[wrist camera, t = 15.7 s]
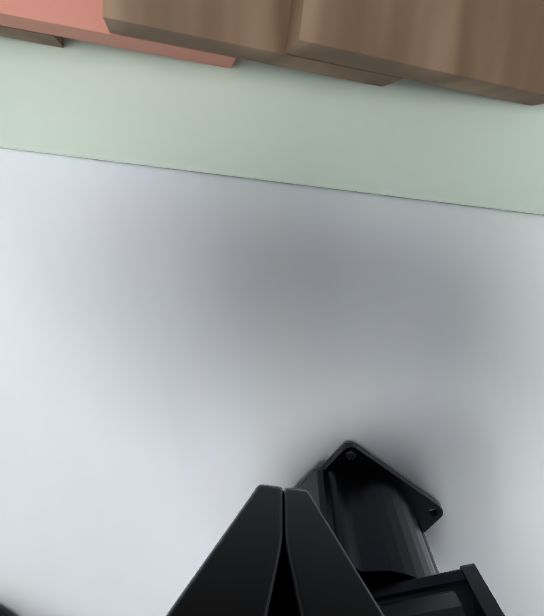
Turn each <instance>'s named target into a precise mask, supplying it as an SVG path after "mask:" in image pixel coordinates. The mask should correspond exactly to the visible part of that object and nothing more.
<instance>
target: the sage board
mask: <svg viewBox="0 0 544 616" xmlns="http://www.w3.org/2000/svg"><path fill="white" fill-rule="evenodd" d="M63 45H64V48H61V47H56V46H51V45H45V44H40V43H34V42H29V41H24V40H18V39H13V38H8V37H2V36H0V147H1V148H9V149H17V150H25V151H33V152H41V153H49V154H58V155H66V156H74V157H82V158H90V159H98V160H106V161H114V162H122V163H130V164H138V165H146V166H154V167H162V168H170V169H178V170H186V171H194V172H203V173H211V174H219V175H227V176H235V177H243V178H251V179H259V180H267V181H275V182H283V183H291V184H299V185H307V186H315V187H323V188H331V189H339V190H348V191H356V192H364V193H372V194H380V195H388V196H396V197H404V198H412V199H420V200H428V201H436V202H444V203H452V204H460V205H468V206H476V207H485V208H493V209H501V210H509V211H517V212H525V213H533V214H541V215H544V104H539V105H533V106H530V105H525V104H521V103H516V102H511V101H507V100H502V99H497V98H493V97H488V96H483V95H479V94H474V93H469V92H464V91H460V90H455V89H450V88H446V87H441V86H436V85H432V84H427V83H422V82H418V81H413V80H408V79H401V80H399V81H396V82H393V83H391V84H388V85H386V86H383V87H381V86H376V85H371V84H366V83H361V82H356V81H351V80H345V79H340V78H335V77H330V76H325V75H320V74H315V73H310V72H305V71H300V70H295V69H290V68H285V67H280V66H275V65H270V64H265V63H260V62H255V61H250V60H245V59H240V58H236V59H235V61H234V63H233V65H232V67H231V68H226V67H220V66H215V65H210V64H204V63H199V62H193V61H188V60H183V59H177V58H172V57H167V56H161V55H156V54H151V53H145V52H140V51H135V50H129V49H124V48H119V47H113V46H108V45H103V44H97V43H92V42H87V41H81V40H76V39H71V38H65V37H63Z"/></svg>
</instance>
